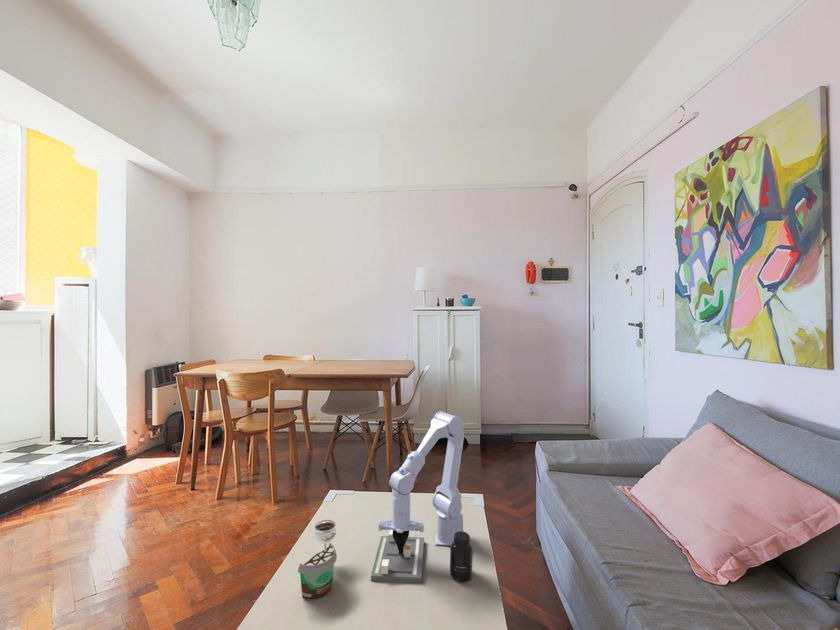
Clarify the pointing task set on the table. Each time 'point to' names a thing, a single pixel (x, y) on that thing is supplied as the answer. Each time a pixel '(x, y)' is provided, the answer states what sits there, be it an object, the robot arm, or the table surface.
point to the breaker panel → (399, 561)
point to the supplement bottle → (461, 557)
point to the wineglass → (325, 531)
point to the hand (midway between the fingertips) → (401, 552)
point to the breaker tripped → (407, 550)
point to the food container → (318, 574)
